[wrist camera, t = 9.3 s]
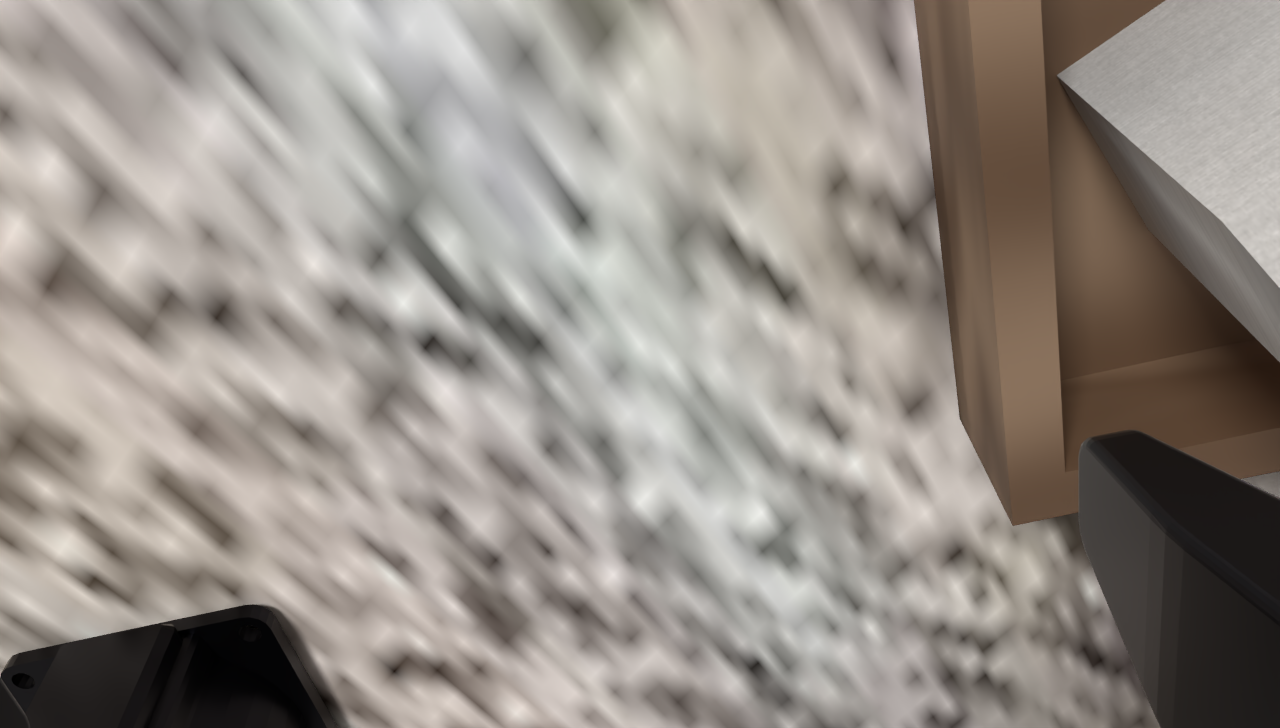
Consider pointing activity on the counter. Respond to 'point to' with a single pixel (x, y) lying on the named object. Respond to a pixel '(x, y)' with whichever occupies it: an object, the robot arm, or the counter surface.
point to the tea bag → (1198, 141)
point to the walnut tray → (1067, 268)
